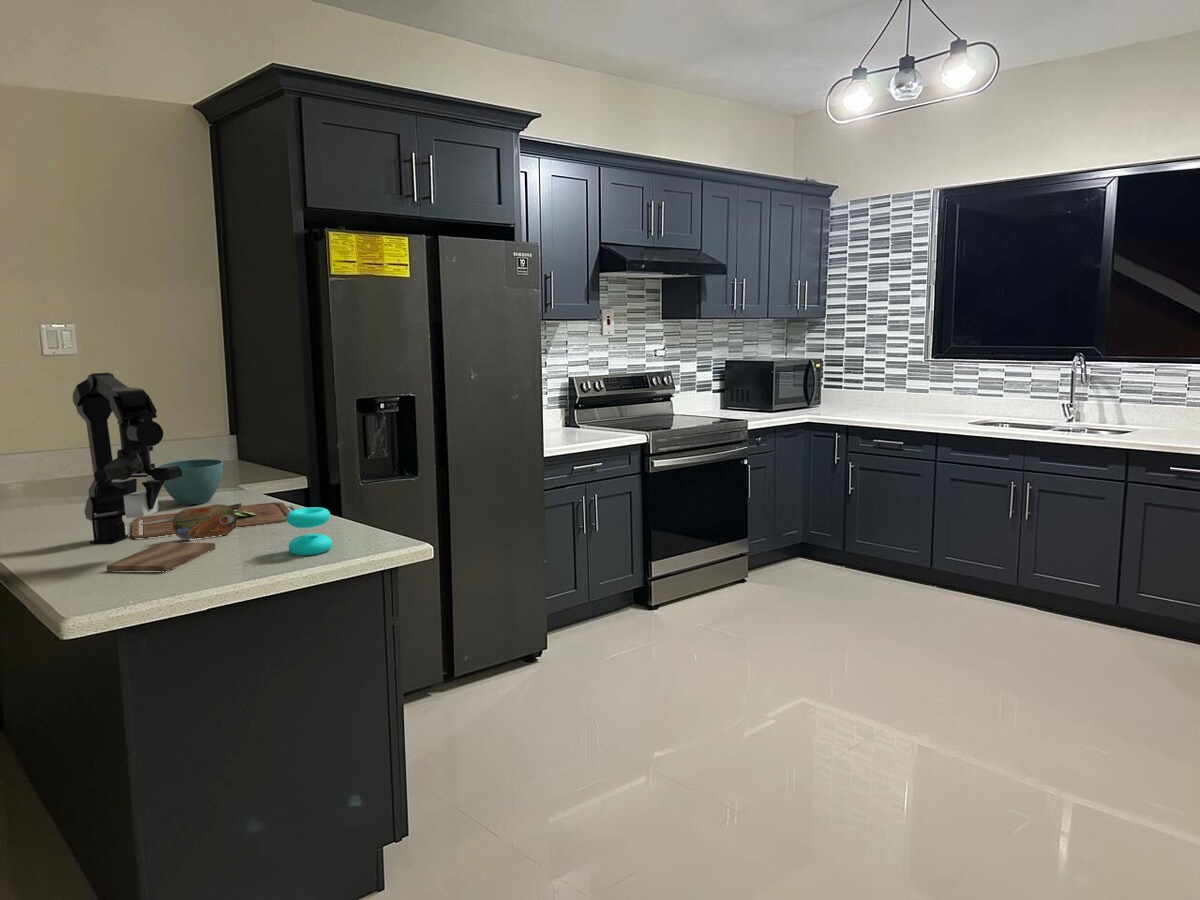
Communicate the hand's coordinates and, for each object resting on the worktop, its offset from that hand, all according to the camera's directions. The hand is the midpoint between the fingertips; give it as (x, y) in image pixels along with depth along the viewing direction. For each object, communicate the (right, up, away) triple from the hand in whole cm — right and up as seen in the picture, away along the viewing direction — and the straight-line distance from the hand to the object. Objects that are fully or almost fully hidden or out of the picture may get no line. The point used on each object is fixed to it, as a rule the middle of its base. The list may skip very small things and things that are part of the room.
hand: (142, 509), depth 201 cm
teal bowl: (-18, -3, +65) cm, 67 cm away
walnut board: (+5, -12, -1) cm, 13 cm away
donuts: (+38, -11, +5) cm, 40 cm away
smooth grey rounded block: (0, -1, 0) cm, 1 cm away
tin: (+6, -9, +20) cm, 23 cm away
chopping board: (-1, -7, +39) cm, 40 cm away
